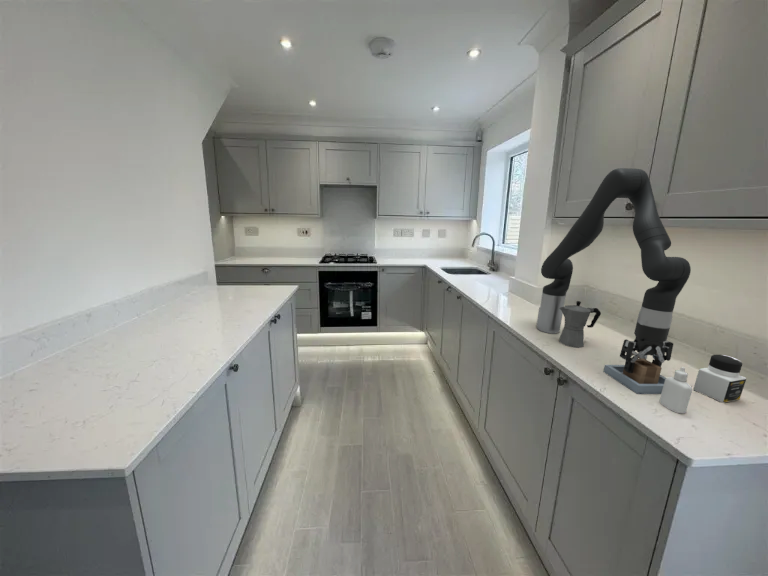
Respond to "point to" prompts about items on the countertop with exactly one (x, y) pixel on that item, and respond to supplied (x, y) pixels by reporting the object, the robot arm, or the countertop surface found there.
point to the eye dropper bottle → (676, 392)
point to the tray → (618, 375)
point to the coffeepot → (576, 324)
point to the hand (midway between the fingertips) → (641, 372)
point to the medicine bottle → (721, 379)
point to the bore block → (644, 372)
